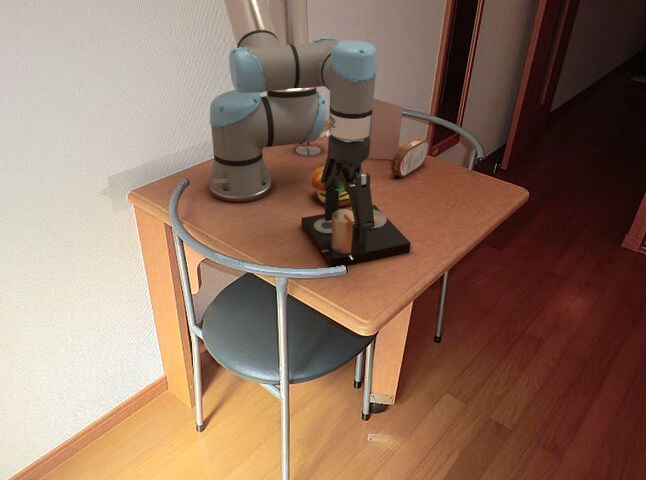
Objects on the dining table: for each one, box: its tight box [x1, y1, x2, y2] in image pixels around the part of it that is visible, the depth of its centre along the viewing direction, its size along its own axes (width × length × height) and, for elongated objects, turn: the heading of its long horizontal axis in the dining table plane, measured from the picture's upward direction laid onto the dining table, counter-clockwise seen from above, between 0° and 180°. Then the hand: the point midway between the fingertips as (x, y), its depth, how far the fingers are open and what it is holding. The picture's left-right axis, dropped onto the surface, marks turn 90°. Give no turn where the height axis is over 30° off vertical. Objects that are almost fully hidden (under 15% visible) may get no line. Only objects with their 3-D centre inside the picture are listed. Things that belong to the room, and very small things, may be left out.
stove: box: [300, 204, 411, 268], centre depth 118 cm, size 19×19×3 cm
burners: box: [314, 209, 388, 234], centre depth 120 cm, size 8×17×1 cm, turn 111°
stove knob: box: [331, 208, 355, 254], centre depth 110 cm, size 5×5×8 cm
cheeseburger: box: [310, 165, 355, 208], centre depth 132 cm, size 10×11×10 cm
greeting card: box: [366, 98, 404, 161], centre depth 150 cm, size 11×7×15 cm, turn 49°
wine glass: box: [295, 142, 322, 157], centre depth 153 cm, size 8×8×15 cm
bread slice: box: [390, 135, 430, 178], centre depth 146 cm, size 15×3×8 cm, turn 141°
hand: (344, 235), depth 111 cm, fingers open, 13 cm apart
